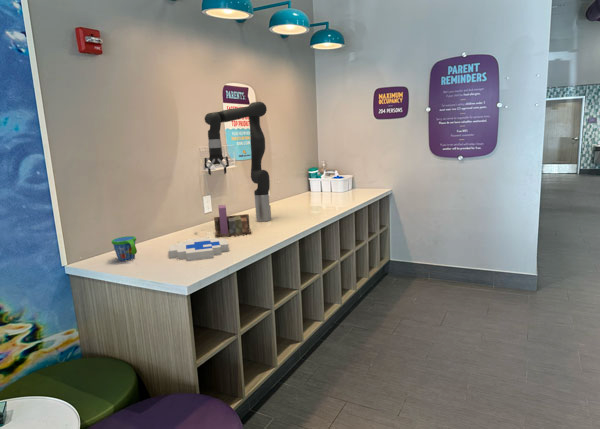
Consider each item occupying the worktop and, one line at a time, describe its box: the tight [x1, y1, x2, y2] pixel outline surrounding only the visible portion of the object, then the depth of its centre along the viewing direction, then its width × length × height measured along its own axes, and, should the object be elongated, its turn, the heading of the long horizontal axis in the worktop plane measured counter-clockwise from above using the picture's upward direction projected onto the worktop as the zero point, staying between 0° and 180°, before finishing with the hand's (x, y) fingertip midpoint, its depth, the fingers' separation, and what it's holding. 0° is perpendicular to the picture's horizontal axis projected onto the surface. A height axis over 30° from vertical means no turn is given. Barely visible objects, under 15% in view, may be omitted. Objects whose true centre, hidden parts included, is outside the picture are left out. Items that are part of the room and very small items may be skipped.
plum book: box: [217, 204, 228, 234], centre depth 238 cm, size 4×10×15 cm, turn 12°
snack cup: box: [111, 235, 138, 262], centre depth 199 cm, size 16×10×10 cm
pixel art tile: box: [168, 236, 230, 262], centre depth 207 cm, size 28×4×28 cm
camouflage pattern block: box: [213, 213, 252, 239], centre depth 241 cm, size 20×12×10 cm, turn 102°
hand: (217, 174), depth 251 cm, fingers open, 8 cm apart
